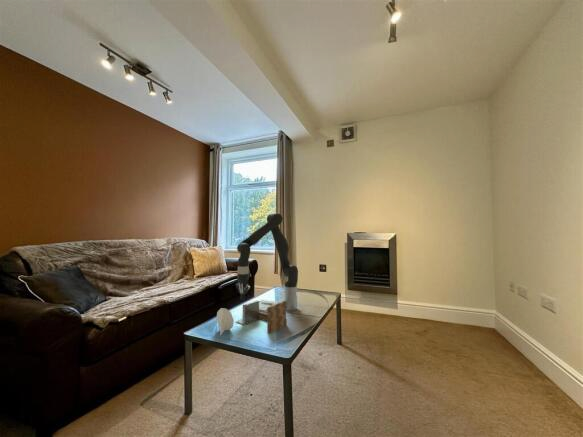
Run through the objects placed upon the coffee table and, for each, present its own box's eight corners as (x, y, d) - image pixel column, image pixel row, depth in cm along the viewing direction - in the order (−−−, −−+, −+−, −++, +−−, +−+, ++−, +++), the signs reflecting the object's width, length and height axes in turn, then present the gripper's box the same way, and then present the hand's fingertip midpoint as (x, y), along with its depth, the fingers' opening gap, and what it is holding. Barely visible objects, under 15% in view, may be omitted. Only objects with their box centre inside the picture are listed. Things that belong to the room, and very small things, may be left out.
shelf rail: (251, 315, 167) (251, 309, 167) (286, 325, 149) (286, 318, 150) (249, 315, 166) (249, 309, 166) (285, 326, 148) (285, 319, 148)
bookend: (250, 316, 164) (250, 298, 165) (258, 318, 160) (259, 300, 160) (235, 322, 154) (236, 303, 154) (244, 325, 149) (244, 305, 149)
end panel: (284, 324, 150) (284, 300, 151) (286, 325, 150) (286, 300, 150) (267, 333, 137) (267, 307, 138) (269, 334, 137) (269, 307, 137)
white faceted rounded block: (229, 338, 132) (230, 310, 132) (210, 337, 132) (211, 310, 133) (235, 330, 142) (235, 304, 142) (217, 329, 142) (218, 304, 143)
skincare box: (264, 309, 163) (245, 307, 169) (265, 317, 162) (245, 315, 169) (279, 301, 182) (261, 299, 188) (279, 308, 181) (261, 306, 188)
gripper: (254, 273, 160) (253, 299, 159) (240, 271, 168) (239, 296, 167) (246, 274, 154) (245, 302, 153) (232, 272, 162) (231, 298, 161)
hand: (242, 298), depth 160 cm, fingers closed
